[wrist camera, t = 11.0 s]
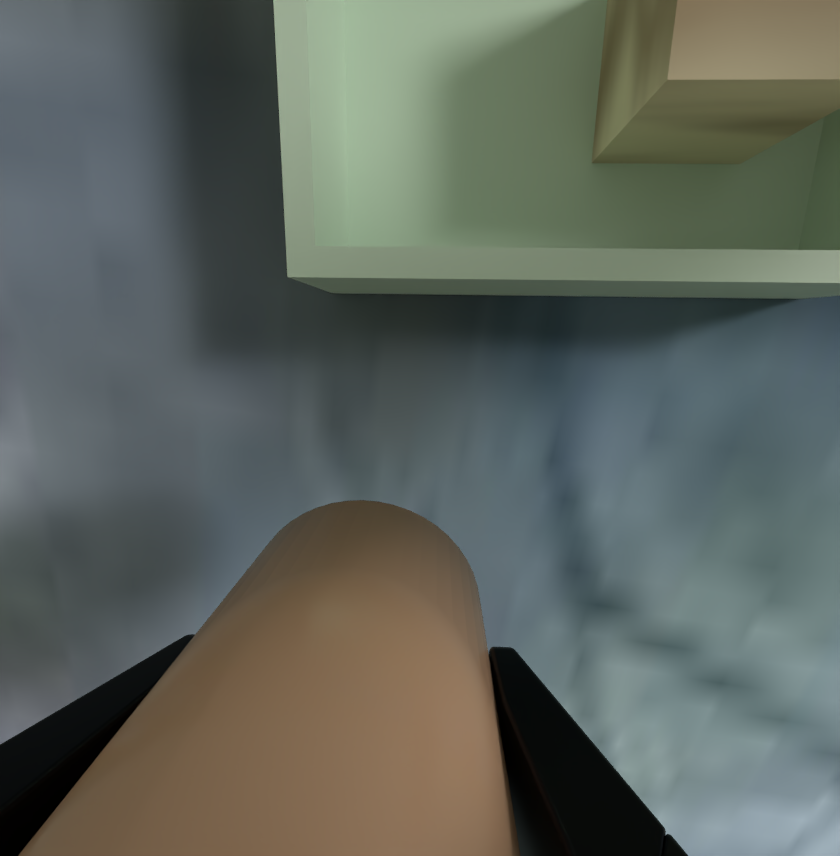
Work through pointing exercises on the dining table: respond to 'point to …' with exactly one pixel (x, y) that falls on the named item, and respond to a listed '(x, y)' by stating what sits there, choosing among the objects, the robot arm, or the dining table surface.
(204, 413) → the dining table surface
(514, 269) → the tote
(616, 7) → the maple cube
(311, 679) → the tan capsule
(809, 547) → the dining table surface
